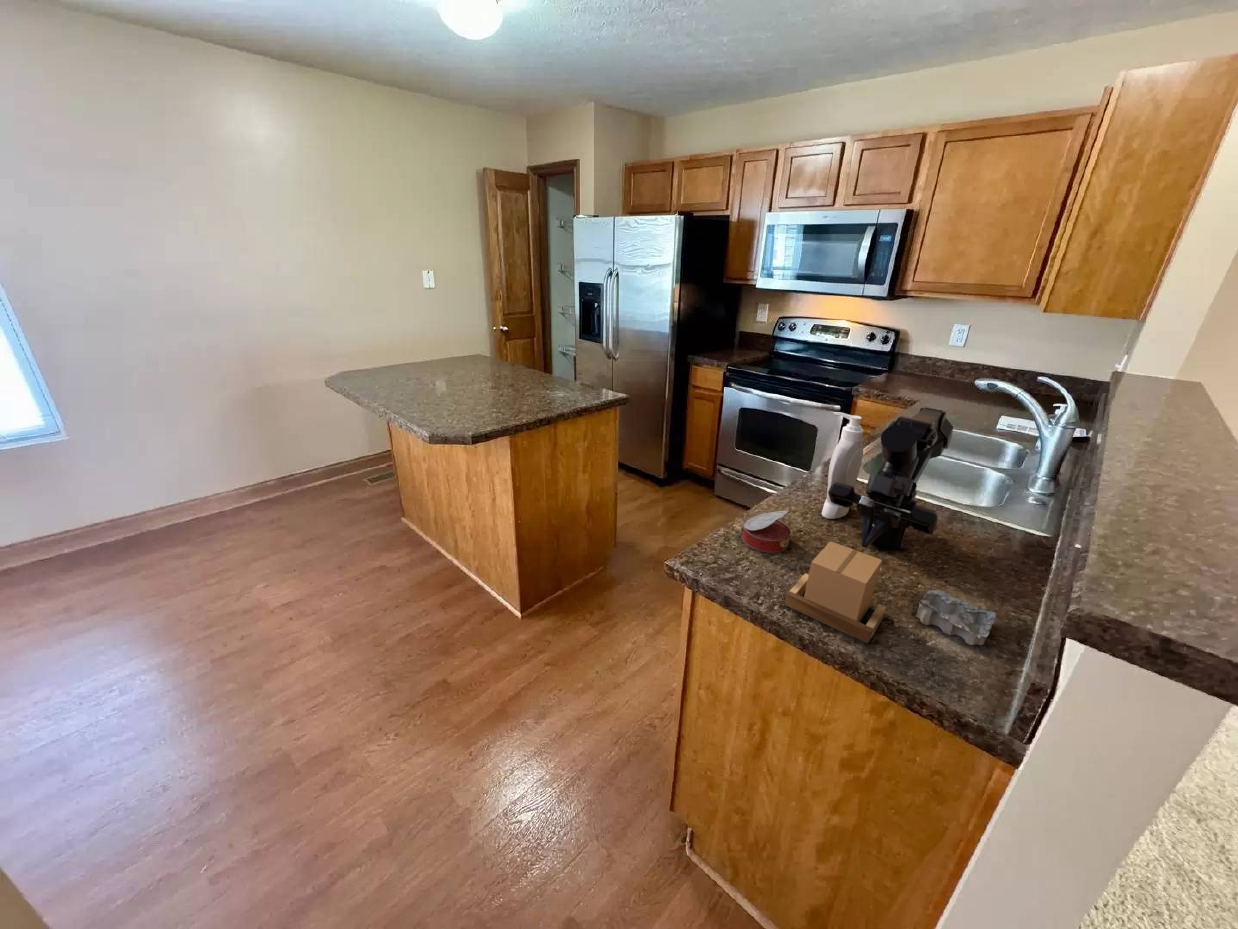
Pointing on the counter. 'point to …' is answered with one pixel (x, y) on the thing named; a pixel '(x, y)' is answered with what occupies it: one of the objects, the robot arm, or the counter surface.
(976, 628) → the egg carton
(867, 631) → the bay
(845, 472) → the soap bottle
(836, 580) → the cardboard box
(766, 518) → the canned food
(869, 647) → the counter surface
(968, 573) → the counter surface
